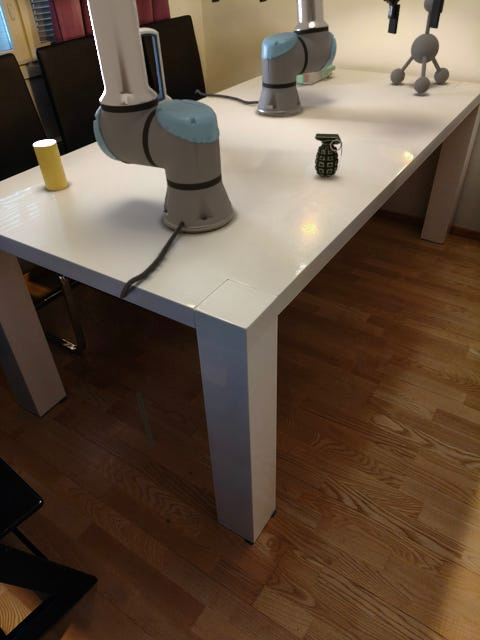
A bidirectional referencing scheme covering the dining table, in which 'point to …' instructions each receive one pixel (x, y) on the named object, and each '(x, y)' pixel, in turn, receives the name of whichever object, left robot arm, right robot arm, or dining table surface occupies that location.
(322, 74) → the decorative block
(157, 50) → the electronic device
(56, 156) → the canister
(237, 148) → the dining table surface
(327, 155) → the grenade
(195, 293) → the dining table surface
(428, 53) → the molecular model
